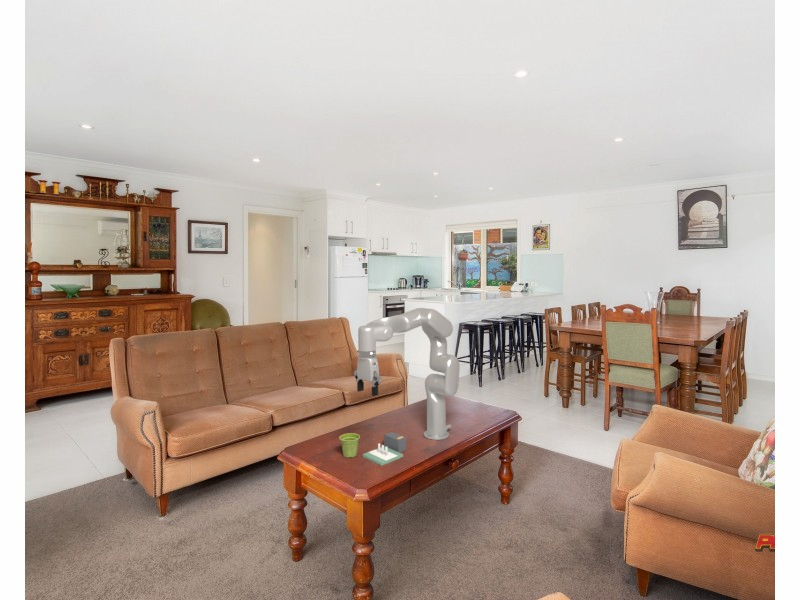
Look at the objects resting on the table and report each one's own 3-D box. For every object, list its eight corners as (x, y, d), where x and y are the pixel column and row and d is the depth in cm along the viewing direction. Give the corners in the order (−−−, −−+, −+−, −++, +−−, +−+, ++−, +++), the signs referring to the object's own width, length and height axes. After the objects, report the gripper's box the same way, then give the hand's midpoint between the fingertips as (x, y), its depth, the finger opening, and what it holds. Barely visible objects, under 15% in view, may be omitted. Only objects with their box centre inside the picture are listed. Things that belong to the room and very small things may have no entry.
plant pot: (335, 456, 207) (334, 437, 207) (348, 449, 215) (348, 431, 215) (351, 461, 202) (350, 442, 202) (364, 453, 210) (364, 435, 209)
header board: (383, 448, 216) (383, 437, 215) (403, 456, 207) (403, 445, 206) (362, 456, 207) (362, 445, 206) (381, 465, 198) (381, 453, 197)
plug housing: (391, 443, 221) (391, 431, 221) (406, 449, 214) (406, 437, 214) (384, 446, 218) (384, 434, 218) (398, 453, 211) (398, 439, 210)
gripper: (387, 355, 193) (387, 395, 195) (361, 350, 206) (361, 387, 207) (373, 358, 188) (374, 399, 190) (347, 352, 201) (348, 390, 202)
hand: (367, 393), depth 198 cm, fingers open, 9 cm apart
